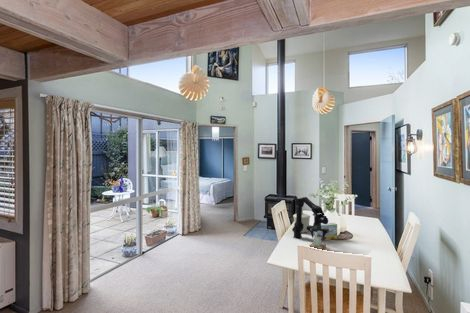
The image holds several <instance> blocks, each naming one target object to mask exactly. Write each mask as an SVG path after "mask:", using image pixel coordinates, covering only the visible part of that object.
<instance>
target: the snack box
mask: <svg viewBox="0 0 470 313" xmlns="http://www.w3.org/2000/svg"><path fill="white" fill-rule="evenodd" d="M321 227H322V228H321V229H324V228H327V229H329V232H328V233H327V234H326V235H325V237H324V239H323V240H322V236H323V234H322V233H323V232H322V231H317V232H314V237H316V236H317V237H321V241H330V240H331V241H333V240H338V224H337V223H336V222H328V223H327V224H323V223H321Z"/></svg>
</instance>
